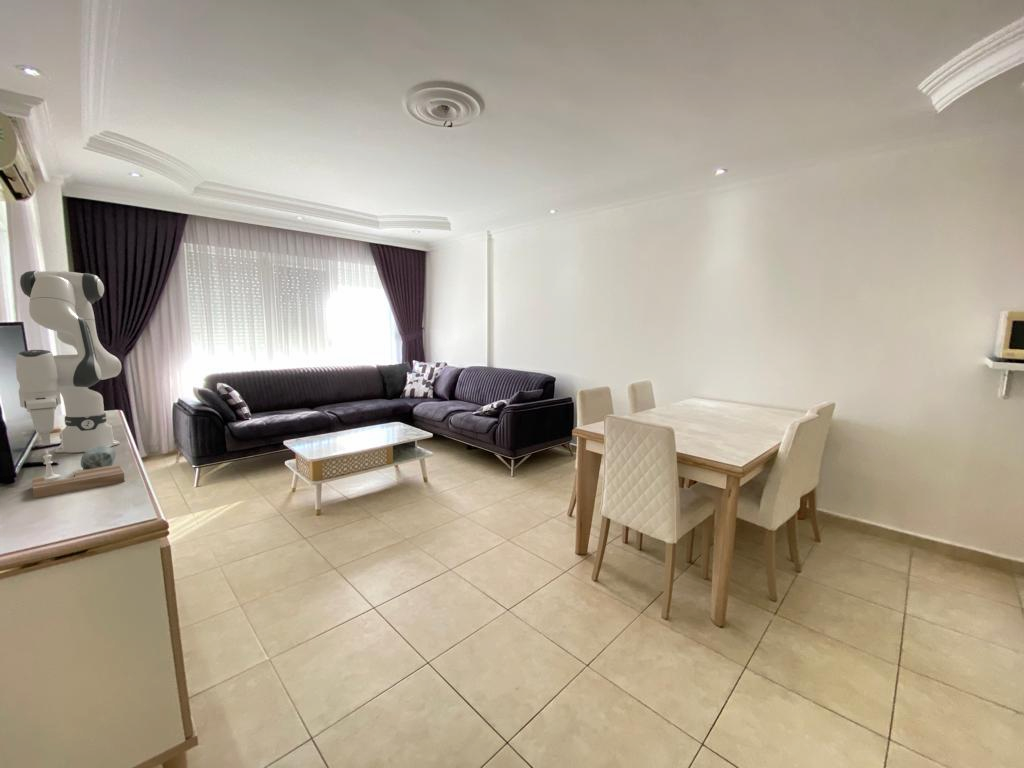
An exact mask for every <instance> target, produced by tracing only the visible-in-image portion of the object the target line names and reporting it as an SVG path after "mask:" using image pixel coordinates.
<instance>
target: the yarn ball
mask: <svg viewBox="0 0 1024 768" xmlns="http://www.w3.org/2000/svg"><path fill="white" fill-rule="evenodd" d="M116 454H117V453H116V451H115V449H114V448H112V447H108V446H95V447H92V448H90V449H88V450H87V451H86V452H83V455H82V457H81V459H80V467H81V468H82V470H88V469H94V468H100V467H106V466H113V465H114V461H115V458H116Z"/></svg>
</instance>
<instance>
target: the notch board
mask: <svg viewBox="0 0 1024 768" xmlns="http://www.w3.org/2000/svg"><path fill="white" fill-rule="evenodd" d="M31 481H32V494H33V499H36V498H42V497H48V496H54V495H59V494H65V493H70V492H75V491H80V490H86V489H91V488H92V489H93V488H97V487H102V486H107V485H114V484H119V483H123V482H125V472H124V470H123V469H122V468H121V466H120V465H119V464H112V466H106V467H100V468H94V469H88V470H85V469H82V470H77V471H73V477H68V478H62V479H61V478H59V479H57V480H52V481H46V482H45V479H44V477H43V476H38V477H32V478H31Z"/></svg>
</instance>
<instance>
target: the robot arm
mask: <svg viewBox="0 0 1024 768" xmlns="http://www.w3.org/2000/svg"><path fill="white" fill-rule="evenodd" d="M19 286H20V289H21V291H22V293H23V294H24V296H25V295H26V297H29V304H28V312H29V316H30V317H31V319H32V320H33V321H34V322H35V323H36V324H38V325H40V326H41V327H43V328H45V329H49V330H51V331H54V332H56V334H57V335H56V336H57V338H58V340H60V342H62V343H64V344H66V345H69V346H72V347H73V348H74V349H75V350H76V352H77V354H55V355H53V352H52V351H50V350H48V349H47V350H45V349H30V350H24V351H23V350H22V351H20V352H18V353H17V355H16V359H15V360H16V361H15V372H16V380H17V382H18V383H19V388H18V396H19V397H18V398H19V405H20V408H24V409H26V411H27V412H28V413H29V414H30V417H31V421H32V423H33V427H34V430H35V432H36V433H37V434H39V435H40V439H41V445H43V446H47V445H50V444H51V432H53V431H54V427H55V411H56V410H57V407H58V406H59V405H61V404H62V402H61V401H62V400H63V403H64V404H63V405H64V410H65V416H64V423H65V427H64V428H63V429H62V430H61V432H60V433H59V440H60V445H59V446H58V447H56V449H55V451H54V453H72V454H73V453H85V452H86V451H87V450H88V449H90V448H92V447H95V446H108V447H110V448H112V447H113V446H117V445H120V443H121V442H120V441H119V440H116V439H114V433H113V427H112V425H110V424H109V423H107V414H106V412H105V406H104V398H103V397H104V396H103V395H102V394H101V393H100V392H99V391H95V390H93V389H90V388H91V387H92V386H93V387H94V386H95V385H96V384H97V383H99V382H100V381H101V380H102V381H103V380H107V379H108V380H109V379H111V378H116V377H118V376H119V375H120V374H121V371H122V362H121V361H120V358H118V357H117V356H116V355H113V354H112V353H110V352H108V351H107V349H105V348H104V347H103V345H102V344H101V342H100V340H99V337H98V332H97V327H96V326H97V325H96V320H95V319H96V318H95V314H94V309H93V306H92V305H94V304H95V302H98V301H100V299H102V298H103V296H104V293H105V286H104V283H103V282H102V279H101V278H100V277H99V276H98V275H96V274H92V273H88V272H84V273H81V272H75V271H74V272H73V271H64V270H62V271H57V270H54V271H53V270H49V271H45V270H43V271H39V270H30V271H26V272H24V273H23V274H21V276H20V280H19ZM61 396H62V400H61Z"/></svg>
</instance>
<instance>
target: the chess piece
mask: <svg viewBox="0 0 1024 768" xmlns="http://www.w3.org/2000/svg"><path fill="white" fill-rule="evenodd" d="M42 457H43V458H42V459H44V462H43V465H46V466H45V474H44V475H43V476H42V477H44V479H45V482H48V481H54V480H60V479H61V478H62V477H61V474H56V473H54V471H53V469H52V464H53V462H54V461H51V460H52V457H53V455H52V454H50V451H49V449H45V455H43V456H42Z"/></svg>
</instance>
